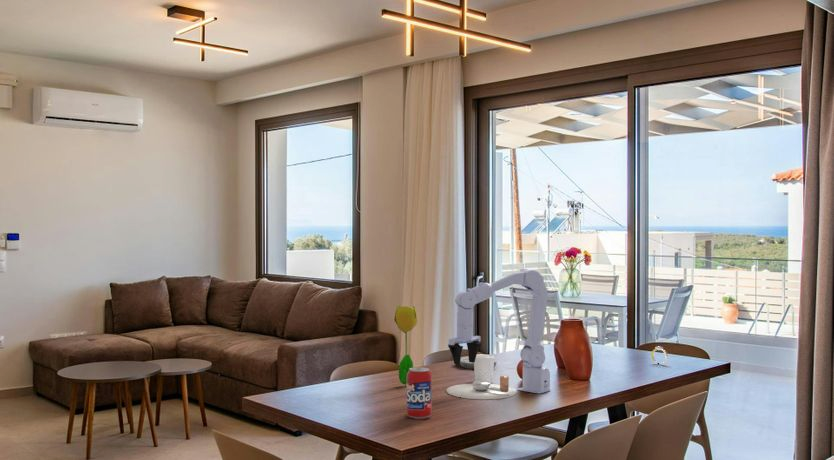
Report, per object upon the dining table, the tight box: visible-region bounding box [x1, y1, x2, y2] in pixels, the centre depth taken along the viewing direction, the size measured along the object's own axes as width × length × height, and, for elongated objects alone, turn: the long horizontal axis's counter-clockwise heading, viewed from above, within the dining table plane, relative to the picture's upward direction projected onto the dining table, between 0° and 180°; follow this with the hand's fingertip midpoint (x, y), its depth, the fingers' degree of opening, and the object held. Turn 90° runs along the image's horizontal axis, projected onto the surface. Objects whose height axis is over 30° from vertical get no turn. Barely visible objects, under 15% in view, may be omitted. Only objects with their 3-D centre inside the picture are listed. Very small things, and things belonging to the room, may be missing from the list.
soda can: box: [406, 366, 433, 420], centre depth 237 cm, size 8×8×15 cm
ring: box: [650, 345, 669, 364], centre depth 333 cm, size 7×3×8 cm, turn 43°
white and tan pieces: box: [472, 375, 510, 392], centre depth 271 cm, size 15×6×6 cm, turn 48°
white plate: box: [446, 383, 517, 401], centre depth 274 cm, size 25×25×1 cm
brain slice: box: [459, 355, 497, 370], centre depth 326 cm, size 20×17×3 cm
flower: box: [393, 305, 418, 387], centre depth 284 cm, size 9×8×30 cm
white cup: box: [473, 353, 495, 384], centre depth 292 cm, size 8×8×10 cm
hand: (464, 363), depth 272 cm, fingers open, 7 cm apart
